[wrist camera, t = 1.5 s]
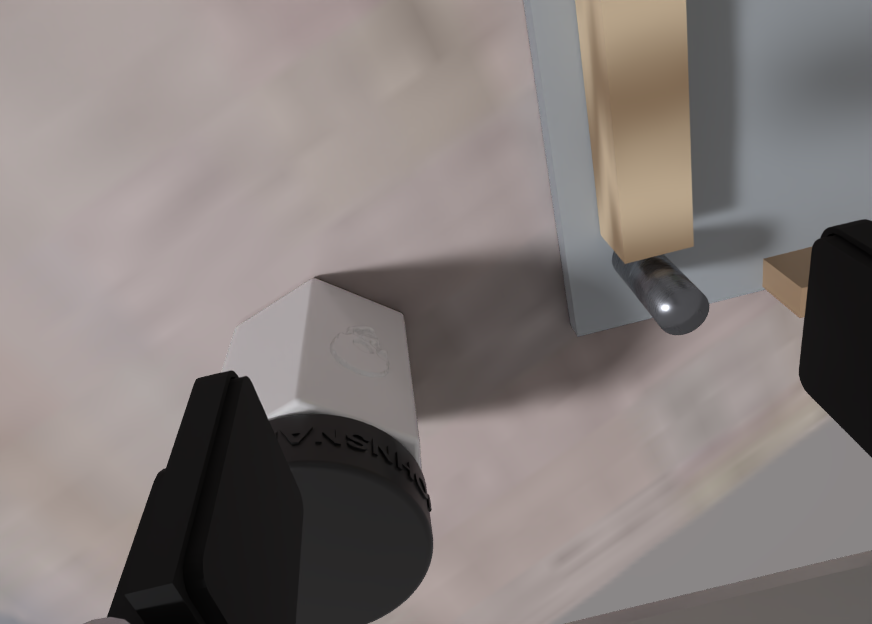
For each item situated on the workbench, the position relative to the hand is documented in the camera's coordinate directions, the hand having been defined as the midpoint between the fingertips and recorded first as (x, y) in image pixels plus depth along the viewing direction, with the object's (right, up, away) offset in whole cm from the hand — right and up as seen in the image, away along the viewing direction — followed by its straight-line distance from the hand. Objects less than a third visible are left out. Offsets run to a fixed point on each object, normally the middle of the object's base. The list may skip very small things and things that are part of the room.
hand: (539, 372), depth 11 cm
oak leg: (+5, +10, +15) cm, 19 cm away
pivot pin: (+7, +3, +19) cm, 20 cm away
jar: (-7, -1, +21) cm, 22 cm away
